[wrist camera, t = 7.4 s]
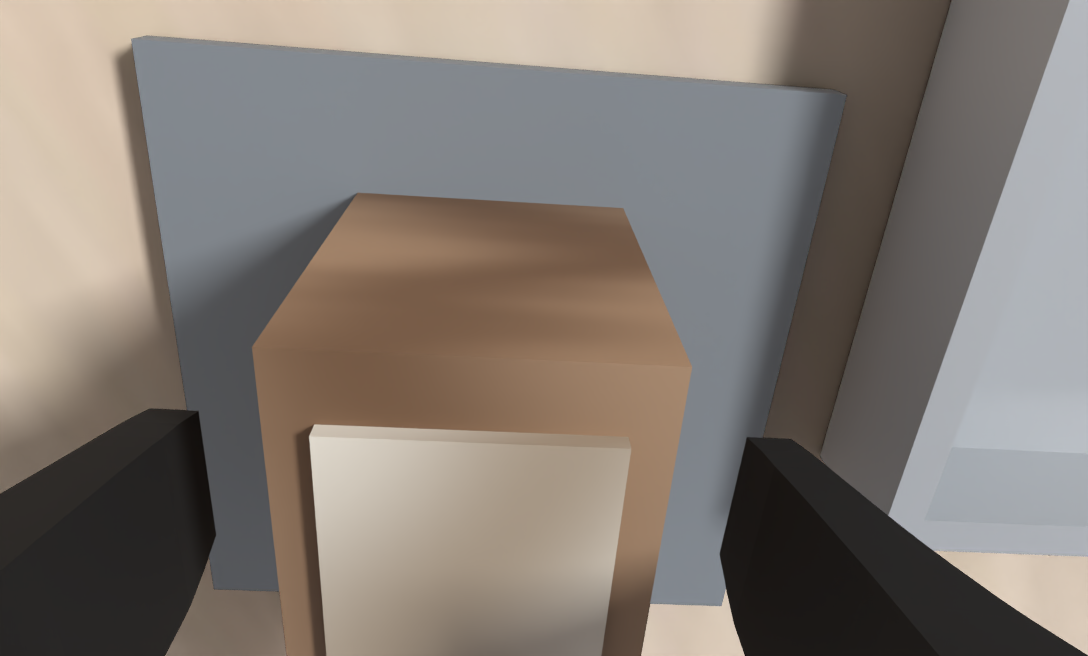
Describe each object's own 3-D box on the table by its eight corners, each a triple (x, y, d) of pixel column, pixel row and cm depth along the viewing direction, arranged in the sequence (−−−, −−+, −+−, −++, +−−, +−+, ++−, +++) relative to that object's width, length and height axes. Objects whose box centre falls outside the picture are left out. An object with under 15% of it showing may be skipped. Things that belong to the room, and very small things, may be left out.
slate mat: (715, 587, 16) (721, 606, 15) (222, 570, 15) (213, 589, 15) (833, 89, 11) (846, 94, 11) (147, 35, 11) (130, 38, 10)
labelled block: (622, 207, 11) (696, 377, 7) (586, 518, 14) (620, 794, 9) (357, 192, 11) (244, 357, 7) (370, 511, 14) (295, 790, 9)
